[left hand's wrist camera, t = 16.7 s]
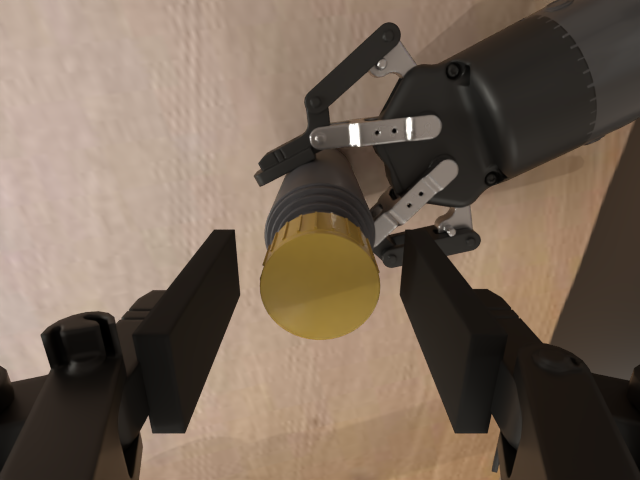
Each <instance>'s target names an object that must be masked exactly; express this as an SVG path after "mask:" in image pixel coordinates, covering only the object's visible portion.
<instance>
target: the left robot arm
mask: <svg viewBox="0 0 640 480" xmlns="http://www.w3.org/2000/svg"><path fill="white" fill-rule="evenodd" d="M239 297H240V286H239V275H238V263H237V251H236V239H235V230H213V232H212V233H211V234H210V236H209V237H208V238H207V239H206V241H205V242H204V243H203V245H202V246H201V247H200V248H199V250H198V251H197V252H196V253H195V255H194V256H193V257H192V259H191V260H190V261H189V262H188V264H187V265H186V266H185V267H184V269H183V270H182V271H181V273H180V274H179V275H178V276H177V278H176V279H175V280H174V281H173V283H172V284H171V285H170V287H169V288H168V289H167V290H153V291H151V292H149V293H148V294H146V295H144V296H142V297H141V298H139V299H138V300H137V301H136V302H135V303H134V304H133V305H132V307H131V308H130V309H129V311H127V312H126V313H125V314H124V316H123V317H122V320H119V321H118V322H117V323H115V318H114V317H113V316H112V315H111V314H109V313H105V312H99V311H97V312H85V313H80V314H76V315H72V316H69V317H67V318H64V319H62V320H59V321H57V322H56V323H54V324H52V325H51V326H49V327H48V328H47V329H46V330H45V331H44V332H43V333H42V334H41V338H42V341H43V345H44V348H45V351H46V354H47V357H48V361H49V364H50V367H51V370H50V372H49V374H48V375H45V376H40V377H35V378H30V379H25V380H20V381H15V382H11V381H10V379H9V376H8V373H7V370H6V369H4V368H3V367H1V366H0V480H139V475H140V466H141V458H142V450H143V445H142V439H141V434H140V430H141V428H142V426H143V424H144V423H145V421H146V419H147V417H148V415H149V419H150V424H151V429H152V433H185V432H186V430H187V427H188V424H189V422H190V419H191V417H192V414H193V412H194V409H195V407H196V404H197V402H198V399H199V397H200V394H201V392H202V389H203V387H204V384H205V382H206V379H207V377H208V374H209V372H210V369H211V367H212V364H213V362H214V359H215V357H216V354H217V352H218V349H219V347H220V344H221V342H222V339H223V337H224V334H225V332H226V329H227V327H228V324H229V322H230V319H231V317H232V314H233V312H234V309H235V307H236V304H237V302H238V299H239ZM400 297H401V299H402V302H403V304H404V307H405V309H406V312H407V314H408V317H409V319H410V322H411V324H412V327H413V329H414V332H415V334H416V337H417V339H418V342H419V344H420V347H421V349H422V352H423V354H424V357H425V359H426V362H427V364H428V367H429V369H430V372H431V374H432V377H433V379H434V382H435V384H436V387H437V389H438V392H439V394H440V397H441V399H442V402H443V404H444V407H445V409H446V412H447V414H448V417H449V419H450V422H451V424H452V427H453V430H454V432H455V433H488V429H489V424H490V419H491V414H492V415H493V417H494V419H495V421H496V422H497V424H498V426H499V428H500V434H499V439H498V443H497V447H496V452H495V456H494V461H493V466H492V471H493V472H496V473H497V471H498V466H499V465H500V474H501V480H640V365H638V366H637V367H635V368H634V370H633V373H632V376H631V379H630V381H628V380H623V379H618V378H613V377H608V376H603V375H598V374H594V373H591V372H590V369H589V368H588V367H587V365H586V364H585V363H584V362H583V360H581V359H580V358H578V357H577V356H576V355H574V354H573V353H571V352H569V351H567V350H564V349H562V348H560V347H557V346H553V345H549V344H545V343H542V342H541V341H540V339H539V338H538V337H537V336H536V335H535V334H534V333H533V332H532V331H531V329H530V328H529V327H528V326H527V325H526V324H525V323H524V322H523V321H522V319H521V318H519V316H518V315H517V314H516V313H515V312H514V311H513V310H511V307H510V306H509V305H508V304H507V303H506V302H505V300H504V299H503V298H502V297H500V296H498V295H497V294H495V293H493V292H491V291H490V290H488V289H472V288H471V287H470V285H469V284H468V283H467V281H466V280H465V279H464V278H463V276H462V275H461V274H460V273H459V271H458V270H457V269H456V267H455V266H454V265H453V264H452V262H451V261H450V260H449V259H448V257H447V256H446V255H445V253H444V252H443V251H442V250H441V248H440V247H439V246H438V245H437V243H436V242H435V241H434V239H433V238H432V237H431V236H430V234H429V233H428V232H427V230H405V239H404V251H403V263H402V275H401V286H400Z"/></svg>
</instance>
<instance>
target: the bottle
mask: <svg viewBox="0 0 640 480" xmlns="http://www.w3.org/2000/svg"><path fill="white" fill-rule="evenodd" d="M315 212H324V213H333V214H335V215H338V216H341V217H343V218H348V220H349V221H350V222H352V223H353V224H355V225H356V226H357V227H358V226H359V227H360V230H361V232H362V233H363V234H364V236H365V237H366V239H367V238H368V240H369V242H370V245H371V248H372V251H373V249H374V244H375V237H376V233H375V225H374V221H373V218H372V215H371V212H370V210H369V208H368V205H367V203H366V201H365V198H364V196H363V194H362V191H361V189H360V187H359V184H358V182H357V180H356V177H355V175H354V173H353V170H352V168H351V166H350V163H349V161H348V160H347V158H346V157H345V156H344V155H343V154H342V153H341V152H340V151H338V150H337V149H335V148H333V149H325V150H322V151H320V152H318V153H316V159H314V160H312V161H310V162H308V163H306V164H304V165H302V166H300V167H298V168H296V169H294V170H292V171H290V172H289V173H287V174H286V176H285V178H284V180H283V183H282V185H281V187H280V190H279V192H278V194H277V197H276V199H275V201H274V204H273V206H272V208H271V211H270V213H269V215H268V218H267V221H266V225H265V244H266V248H267V250H268V247H269V244H270V245H271V244H272V241H273V239H274V236H275V233H276V232H279V230H280V229H281V228H282V227H283V226H284V225H285V224H286V222H287V221H288V222H290V221H291V220H293V219H295V218H297V217H299V215H301V214H302V215H305V214H309V213H315Z"/></svg>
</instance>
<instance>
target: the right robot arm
mask: <svg viewBox="0 0 640 480" xmlns="http://www.w3.org/2000/svg"><path fill="white" fill-rule="evenodd" d="M400 37H401V33H400V30H399V28H398V26H397V25H396V24H394V23H390V22H388V23H385V24H383V25H382V26H380V27H379V28H378V29H377V30H376V31H375V32H374V33H373V34H372V35H371V36H370V37H368V38H367V39H366V40H365V41H364V42H363V43H362V44H361V45H360V46H359V47H358V48H357V49H355V50H354V51H353V52H352V53H351V54H350V55H349V56H348V57H347V58H346V59H345V60H343V61H342V62H341V63H340V64H339V65H338V66H337V67H336V68H335V69H334V70H333V71H332V72H330V73H329V74H328V75H327V76H326V77H325V78H324V79H323V80H322V81H321V82H320V83H318V84H317V85H316V86H315V87H314V88H313V89H312V90H311V91H310V92H309V93H308V94H307V95H306V97H305V101H304V103H305V107H306V111H307V119H308V128H307V130H306V131H305V132H304V133H303V134H302V135H300V136H298V137H296V138H294V139H292V140H290V141H289V142H287V143H285V144H283V145H281V146H279V147H277V148H275V149H273V150H272V151H270V152H268V153H267V154H266V155H265V156H264V157H263V158H262V159H261V161H260V162H259V163H258V164H259V166H260V168H261V169H260V170H259V171H257V172H256V174H255V175H254V177H255V179H256V181H257V183H258V184H259V186H263V185H265V184H267V183H269V182H271V181H273V180H275V179H277V178H279V177H281V176H283V175H285V174H287V173H289V172H290V171H292V170H294V169H296V168H298V167H300V166H302V165H304V164H306V163H308V162H310V161H312V160H314V159H316V153H318V152H320V151H322V150H325V149H333V148H342V147H351V146H355V147H360V146H370V145H373V148H374V150H375V152H376V154H377V155H378V156H379V157H380V158H381V160H382V161H383V162H384V164H385V171H386V176H387V179H388V181H389V183H390V185H391V186H390V187H389V188H388V189H387V190H386V191H385V192H384V193H383V194H382V195H381V196H380V198H379V200H378V202H377V203H376V204H375V205H374V206H373V207H372V208H371V209H370V212H371V215H372V218H373V221H374V225H375V233H376V237H375V244H374V249H373V253H374V254H376V255H377V256H378V257H379V258H380V259H381V260H382V261H383V263H384V265H385V266H387V267H390V268H393V267H398V266H402V263H403V251H404V239H405V232H400V233H396V234H391V235H389V234H390V233H391V232H392V231H393V230H394V229H395V228H396V227H397V226H401V225H403V224H404V223H406V222H407V221H408V220H409V219H410V218H411V217H412V216H413V215H414V214H415V213H416V212H417V211H418V210H419V209H420V208H421V207H423V206H424V205H425V204H426V203H427V204H433V205H440V206H446V207H450V209H449V211H448V212H447V213H446V214H444V215H442V216H440V217H438V218H437V219H436V221H435V224H434V225H431V226H427V227H422V228H418V229H414V230H427V232H428V233H429V234H430V236H431V237H432V238H433V239H434V241H435V242H436V243H437V245H438V246H439V247H440V248H441V250H442V251H443V252H444V253H445V255H446V256H449V255H453V254H458V253H462V252H467V251H471V250H474V249H476V248H477V247H478V246H479V245H480V242H481V238H480V236H479V235H478V234H477V233H476V232H475V231H474V230H473V227H472V218H471V209H470V205H471V204H472V203H473V202H475V201H476V199H477V198H478V197H479V196H480V195H481V194H482V193H483V192H484V191H485V190H486V189H488V188H489V187H491V186H493V185H496V184H499V183H502V182H504V181H507V180H509V179H511V178H514V177H516V176H518V175H520V174H522V173H524V172H526V171H529V170H531V169H533V168H535V167H537V166H539V165H541V164H544V163H546V162H548V161H550V160H552V159H554V158H557V157H559V156H561V155H563V154H565V153H567V152H570V151H572V150H574V149H576V148H578V147H580V146H582V145H588V144H591V143H593V142H596V141H598V140H600V139H601V138H602V137H604V136H605V135H606V134H608V133H610V132H613V131H615V130H617V129H619V128H621V127H623V126H625V125H627V124H629V123H631V122H632V121H634V120H636V119H638V118H639V117H640V0H556V1H554V2H552V3H550V4H548V5H547V6H546V7H545V8H543V9H541V10H539V11H537V12H535V13H533V14H532V15H530V16H528V17H526V18H524V19H522V20H520V21H518V22H516V23H514V24H512V25H511V26H509V27H507V28H505V29H503V30H501V31H499V32H498V33H496V34H494V35H492V36H490V37H488V38H486V39H484V40H482V41H481V42H479V43H477V44H475V45H473V46H471V47H469V48H467V49H465V50H464V51H462V52H460V53H458V54H456V55H454V56H452V57H450V58H448V59H447V60H445V61H443V62H441V63H438V64H434V65H427V64H421V65H416V63H415V62H414V60H413V59H412V57H411V56H410V54H409V53H408V51H407V50H406V49H405V47H404V46H403V44H402V43H401V41H400ZM367 72H369V74H370V75H371V76H373V77H375V78H380V77H383V76H385V75H387V74H388V73H394V74H396V75H398V76H399V80H398V82H397V84H396V85H395V87H394V89H393V91H392V93H391V95H390V97H389V98H388V100H387V102H386V104H385V106H384V108H383V110H382V111H381V113H380V115H379V116H377V117H369V118H361V119H353V120H348V121H341V122H332V123H330V118H329V109H328V107H329V106H330V105H331V104H332V103H333V102H334V101H335V100H336V99H338V98H339V97H340V96H341V95H342V94H343V93H344V92H345V91H346V90H348V89H349V88H350V87H351V86H352V85H353V84H354V83H355V82H357V81H358V80H359V79H360V78H361V77H362V76H363V75H364V74H365V73H367ZM408 203H409V205H407V204H408Z"/></svg>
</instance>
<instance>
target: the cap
mask: <svg viewBox="0 0 640 480" xmlns="http://www.w3.org/2000/svg"><path fill="white" fill-rule="evenodd" d="M263 266H264V268H263V271H262V274H261V277H260V294H261V298H262V301H263V304H264V307H265V309H266V310H267V312H268V314H269V315H270V316H271V318H272V319H273V320H274V321H275V322H276V323H277V324H278V325H279V326H280V327H282V328H283V329H285V330H286V331H288V332H290V333H292V334H294V335H296V336H299V337H302V338H307V339H314V340H326V339H333V338H338V337H341V336H344V335H346V334H348V333H350V332H352V331H354V330H355V329H357V328H358V327H360V326H361V325H362V324H363V323H364V322H365V321H366V320H367V319H368V318H369V317H370V315H371V314H372V312H373V311H374V309H375V307H376V304H377V302H378V299H379V294H380V278H379V274H378V273H379V269H378V266H377V263H376V260H375V257H374V254H373V251H372V248H371V245H370V242H369V240H368V238H367V239H366V237H365V236H364V234H363V233H362V232H361V230H360V227H359V226H358V227H357V226H356V225H355V224H353V223H352V222H350V221H349V220H348V218H343V217H341V216H338V215H335V214H333V213H324V212H315V213H309V214H305V215H302V214H301V215H299V217H297V218H295V219H293V220H291V221H290V222H288V221H287V222H286V224H285V225H284V226H283V227H282V228H281V229H280V230H279V232H276V233H275V236H274V239H273V241H272V244H271V245H270V244H269V247H268V250H267V253H266V256H265V259H264V262H263Z"/></svg>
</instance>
